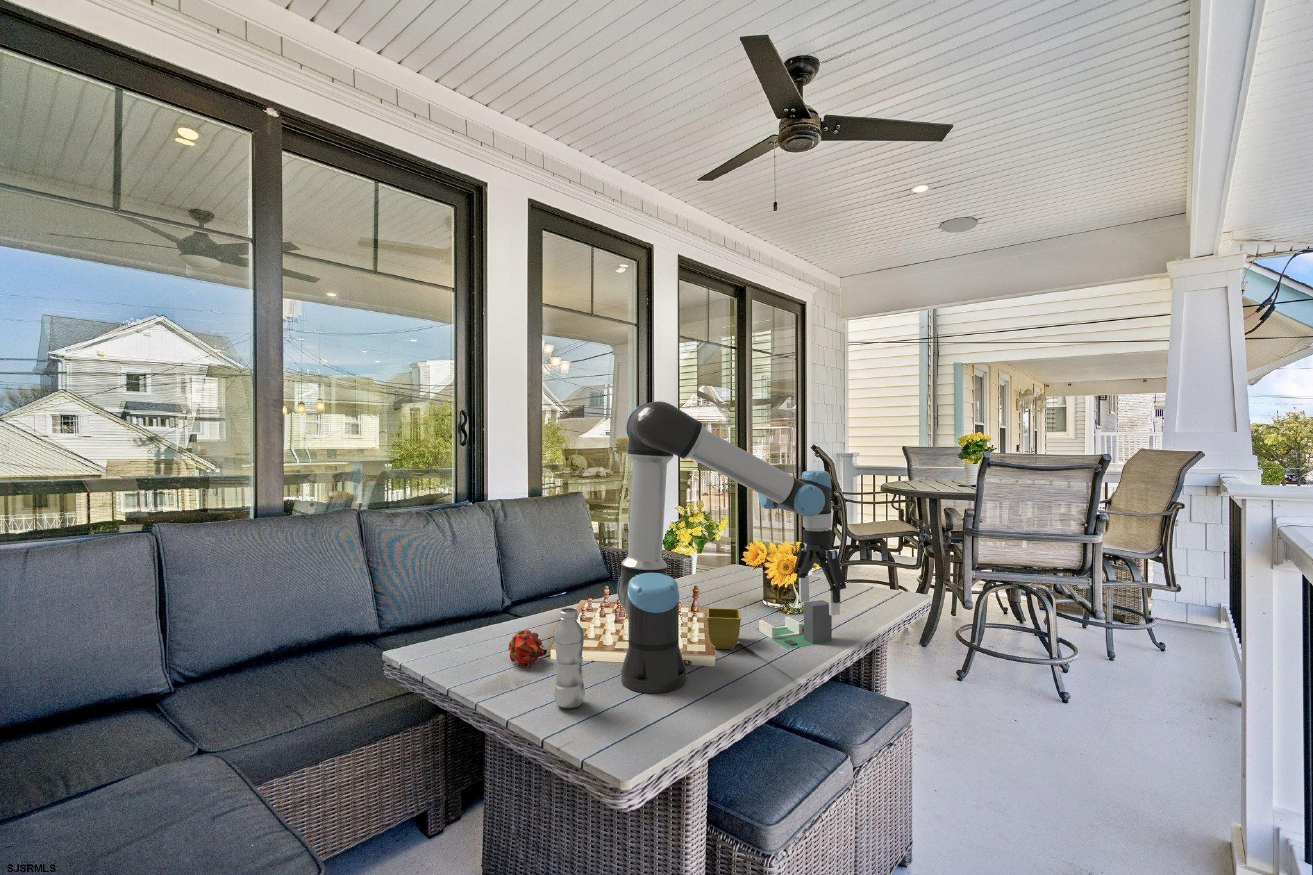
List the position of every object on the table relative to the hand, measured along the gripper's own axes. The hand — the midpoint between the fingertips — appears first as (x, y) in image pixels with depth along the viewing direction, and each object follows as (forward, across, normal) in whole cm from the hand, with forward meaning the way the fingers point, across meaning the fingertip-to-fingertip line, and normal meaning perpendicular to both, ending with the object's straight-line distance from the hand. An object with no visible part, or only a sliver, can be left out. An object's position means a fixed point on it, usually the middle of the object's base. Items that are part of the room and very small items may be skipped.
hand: (818, 607), depth 163 cm
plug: (+9, 0, 0) cm, 9 cm away
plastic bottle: (+9, -12, +70) cm, 72 cm away
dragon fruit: (+9, +15, +76) cm, 78 cm away
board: (+10, +6, +4) cm, 12 cm away
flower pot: (+10, +8, +24) cm, 28 cm away
